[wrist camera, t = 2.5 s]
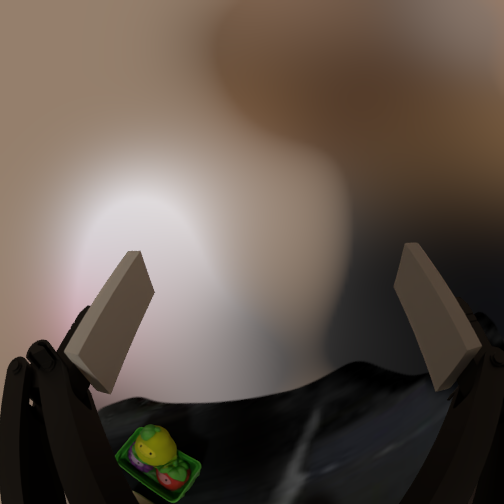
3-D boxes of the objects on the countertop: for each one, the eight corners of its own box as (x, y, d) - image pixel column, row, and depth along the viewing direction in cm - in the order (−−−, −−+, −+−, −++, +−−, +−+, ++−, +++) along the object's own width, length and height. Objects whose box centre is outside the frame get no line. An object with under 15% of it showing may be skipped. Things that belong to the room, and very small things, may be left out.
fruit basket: (126, 467, 29) (88, 445, 23) (156, 430, 35) (126, 400, 29) (185, 507, 24) (156, 500, 18) (215, 464, 31) (196, 444, 24)
